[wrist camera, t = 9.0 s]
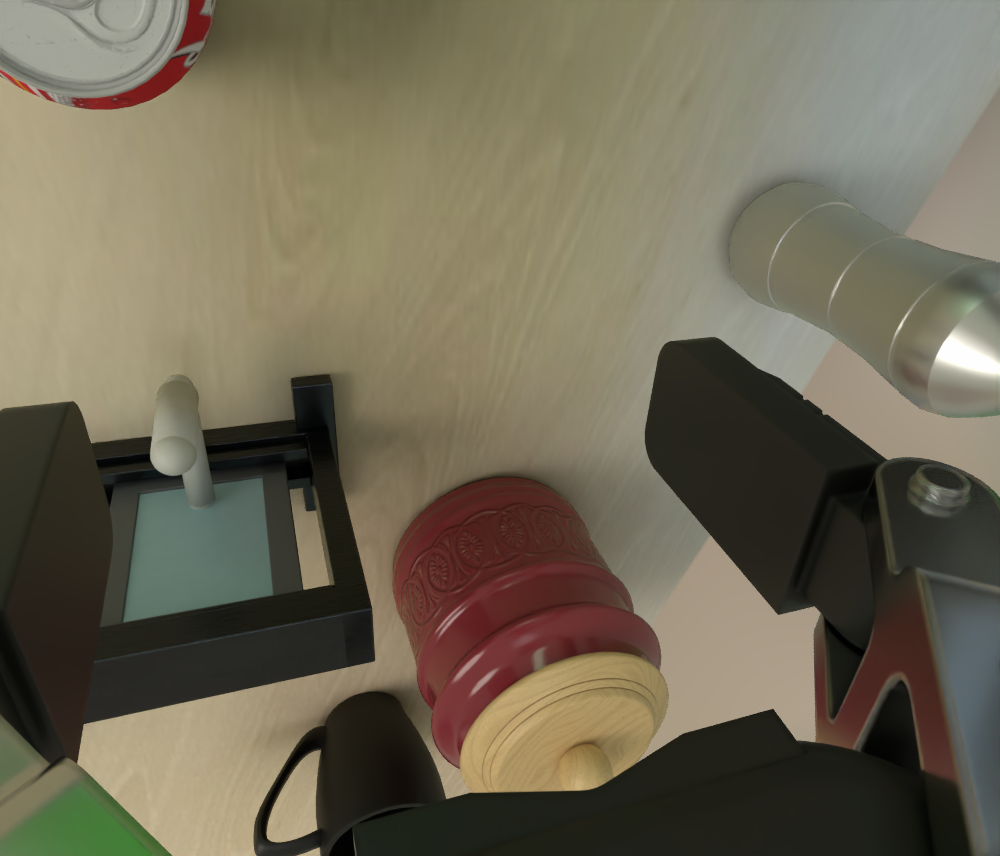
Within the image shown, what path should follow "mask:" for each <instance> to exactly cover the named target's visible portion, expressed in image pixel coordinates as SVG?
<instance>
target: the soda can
mask: <svg viewBox="0 0 1000 856" xmlns="http://www.w3.org/2000/svg"><path fill="white" fill-rule="evenodd" d="M215 5H216V0H0V76H1V77H3V78H4V79H6V80H8V81H10V82H11V83H13V84H15V85H16V86H18V87H20V88H21V89H23V90H25V91H28V92H30V93H32V94H34V95H37V96H39V97H41V98H44V99H46V100H50V101H53V102H56V103H60V104H63V105H67V106H71V107H78V108H85V109H118V108H124V107H131V106H134V105H137V104H140V103H143V102H146V101H149V100H151V99H153V98H155V97H157V96H159V95H160V94H162V93H164V92H166V91H167V90H169V89H170V88H171V87H172V86H173V85H175V84H176V83H177V82H178V81H179V80H181V79H182V78H183V76H184V75H185V74H186V73H187V72H188V70H189V69H190V68H191V67H192V66H193V64H194V63H195V62H196V60H197V58H198V57H199V55H200V53H201V51H202V49H203V48H204V46H205V44H206V41H207V38H208V36H209V33H210V30H211V27H212V23H213V17H214V11H215Z"/></svg>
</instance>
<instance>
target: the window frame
mask: <svg viewBox="0 0 1000 856" xmlns="http://www.w3.org/2000/svg"><path fill="white" fill-rule="evenodd" d="M291 388H292V397H293V406H294V415H295V420H289V421H281V422H272V423H264V424H255V425H247V426H238V427H230V428H221V429H213V430H204V431H202V432H203V438H204V443H205V448H206V453H207V458H208V463H209V469H210V471H213V470H220V469H228V468H236V467H243V466H251V465H258V464H266V463H273V462H281V461H285V464H286V471H287V478H288V485H289V489H295V488H302V487H303V494H304V502H305V508H306V511H314V510H316V512H317V517H318V523H319V528H320V534H321V539H322V544H323V550H324V555H325V561H326V566H327V572H328V577H329V582H330V585H328V586H323V587H317V588H312V589H307V590H301V591H296V592H290V593H285V594H279V595H274V596H268V597H263V598H257V599H252V600H246V601H241V602H236V603H230V604H225V605H219V606H214V607H208V608H203V609H197V610H192V611H186V612H181V613H175V614H170V615H165V616H159V617H154V618H148V619H143V620H137V621H132V622H126V623H121V624H115V625H110V626H104V627H100V629H99V635H98V641H97V647H96V653H95V659H94V665H93V671H92V677H91V683H90V689H89V695H88V701H87V707H86V713H85V719H84V724H86V723H91V722H96V721H100V720H105V719H110V718H114V717H119V716H123V715H128V714H133V713H137V712H142V711H147V710H151V709H156V708H160V707H165V706H170V705H174V704H179V703H184V702H188V701H193V700H198V699H202V698H207V697H211V696H216V695H221V694H225V693H230V692H235V691H239V690H244V689H248V688H253V687H258V686H262V685H267V684H272V683H276V682H281V681H285V680H290V679H295V678H299V677H304V676H309V675H313V674H318V673H323V672H327V671H332V670H336V669H341V668H346V667H350V666H355V665H360V664H364V663H369V662H373V661H375V650H374V633H373V615H372V606H371V602H370V598H369V593H368V589H367V585H366V581H365V577H364V573H363V569H362V565H361V560H360V556H359V552H358V548H357V544H356V540H355V536H354V532H353V527H352V523H351V519H350V515H349V511H348V507H347V503H346V498H345V494H344V490H343V486H342V482H341V478H340V473H339V461H338V449H337V436H336V424H335V411H334V399H333V386H332V381H331V377H330V375H320V376H310V377H300V378H292V379H291ZM151 442H152V437H145V438H137V439H128V440H120V441H111V442H103V443H94V444H91V446H92V449H93V453H94V456H95V460H96V463H97V466H98V470H99V473H100V477H101V480H102V484H103V487H104V490H105V494H106V497H107V501H108V504H109V509H110V505H111V499H112V494H113V488H114V484H115V483H123V482H130V481H138V480H145V479H153V478H160V477H168V476H169V475H165V474H163V473H161V472H159V471H158V470H157V469H156V468H155V467H154V466H153V464H152V462H151V458H150V450H151ZM181 475H182V474H181Z"/></svg>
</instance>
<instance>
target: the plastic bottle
mask: <svg viewBox="0 0 1000 856" xmlns="http://www.w3.org/2000/svg"><path fill="white" fill-rule="evenodd" d="M729 262H730V269H731V272H732V274H733V277H734V278H735V280H736V281H737V282H738V284H739V285H740V286H741V287H742V288H743V289H744V291H745V292H746V293H747V294H748V295H749V296H750V297H751V298H753V299H754V300H755V301H757V302H760V303H762V304H764V305H767V306H769V307H771V308H774V309H777V310H779V311H783V312H786V313H791V314H793V315H795V316H797V317H799V318H801V319H803V320H805V321H807V322H809V323H811V324H813V325H815V326H817V327H819V328H821V329H823V330H825V331H827V332H829V333H830V334H831V335H833V336H834V337H835V338H837V339H838V340H839V341H841V342H842V343H844V344H845V345H846V346H847V347H849V348H850V349H852V350H853V351H854V352H856V353H857V354H858V355H860V356H861V357H862V358H863V359H865V360H866V361H867V362H868V363H869V364H870V365H871V366H872V367H873V368H874V369H875V370H876V371H877V372H879V374H881V376H883V377H884V378H885V379H886V380H887V381H888V382H889V383H890V384H891V385H892V386H893V387H894V388H895V389H897V390H898V391H899V393H900V394H902V395H903V396H904V397H906V398H907V399H908V400H909V401H911V402H912V403H913V404H914V405H916V406H917V407H918V408H920V409H922V410H925V411H928V412H931V413H935V414H938V415H942V416H946V417H953V418H955V417H956V418H964V417H965V418H967V417H987V416H996V415H1000V263H999V262H995V261H991V260H986V259H982V258H978V257H973V256H969V255H965V254H960V253H956V252H952V251H948V250H943V249H940V248H937V247H935V246H932V245H929V244H926V243H923V242H921V241H918V240H913V239H911V238H909V237H906V236H904V235H901V234H898V233H895V232H893V231H891V230H890V229H888V228H886V227H884V226H883V225H881V224H879V223H878V222H876V221H874V220H872V219H871V218H869V217H867V216H865V215H864V214H862V213H860V212H858V211H857V210H856V209H855V208H854V207H853V206H852V205H851V204H850V203H849V202H848V201H846V200H845V199H844V198H842V197H841V196H839V195H838V194H836V193H835V192H833V191H832V190H830V189H828V188H826V187H824V186H819V185H813V184H806V183H799V182H793V183H786V184H782V185H779V186H777V187H775V188H773V189H771V190H769V191H767V192H765V193H764V194H762V195H760V196H759V197H758V198H756V199H755V200H754V201H753V202H752V203H751V204H750V205H749V206H748V207H747V208H746V209H745V210H744V212H743V213H742V214H741V216H740V217H739V219H738V221H737V223H736V225H735V227H734V229H733V232H732V235H731V239H730V244H729Z"/></svg>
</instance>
